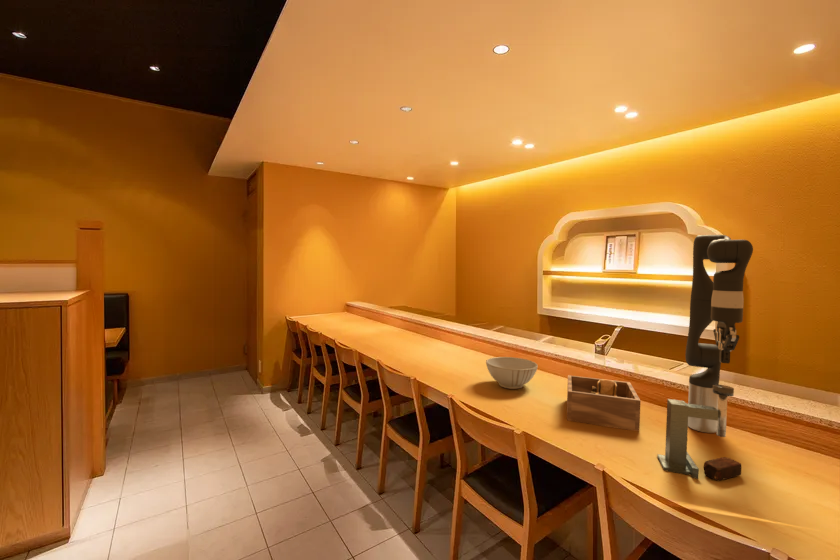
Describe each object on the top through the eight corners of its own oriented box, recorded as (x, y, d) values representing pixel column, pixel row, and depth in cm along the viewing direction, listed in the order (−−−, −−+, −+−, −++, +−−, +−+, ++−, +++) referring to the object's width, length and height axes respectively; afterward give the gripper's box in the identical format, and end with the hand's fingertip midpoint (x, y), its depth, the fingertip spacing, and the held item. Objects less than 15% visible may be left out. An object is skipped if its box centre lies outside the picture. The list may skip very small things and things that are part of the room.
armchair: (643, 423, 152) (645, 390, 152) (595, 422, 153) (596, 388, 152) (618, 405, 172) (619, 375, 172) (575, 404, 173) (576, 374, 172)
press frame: (656, 454, 126) (658, 394, 125) (706, 463, 121) (709, 400, 120) (665, 472, 115) (667, 406, 114) (720, 483, 110) (723, 414, 109)
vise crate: (567, 400, 178) (567, 375, 178) (628, 408, 168) (629, 382, 168) (567, 420, 154) (568, 391, 153) (639, 431, 144) (640, 400, 144)
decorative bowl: (529, 397, 181) (529, 372, 181) (477, 387, 195) (478, 364, 195) (542, 383, 204) (543, 361, 203) (495, 375, 218) (496, 354, 217)
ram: (708, 430, 117) (710, 383, 117) (727, 433, 116) (730, 385, 115) (714, 437, 113) (716, 388, 112) (734, 440, 111) (736, 390, 111)
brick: (741, 476, 113) (724, 468, 118) (742, 463, 113) (725, 455, 118) (717, 482, 110) (701, 473, 114) (718, 468, 110) (701, 460, 114)
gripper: (752, 308, 105) (749, 369, 106) (733, 304, 118) (730, 359, 118) (720, 307, 108) (717, 366, 109) (704, 303, 120) (702, 356, 121)
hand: (724, 362), depth 113 cm, fingers closed
